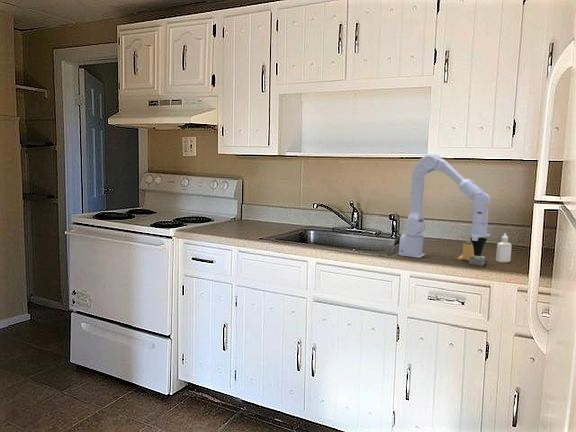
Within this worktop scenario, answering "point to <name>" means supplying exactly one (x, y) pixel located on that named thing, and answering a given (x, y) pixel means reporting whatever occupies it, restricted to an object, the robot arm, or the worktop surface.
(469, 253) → the block
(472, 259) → the button housing
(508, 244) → the eye dropper bottle
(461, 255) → the compartment tray
